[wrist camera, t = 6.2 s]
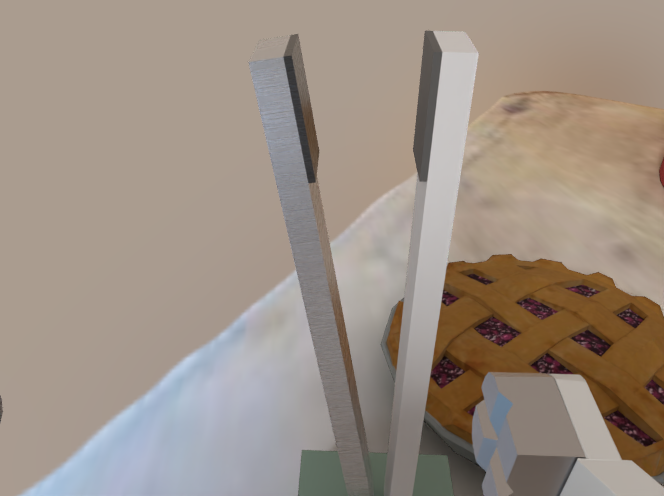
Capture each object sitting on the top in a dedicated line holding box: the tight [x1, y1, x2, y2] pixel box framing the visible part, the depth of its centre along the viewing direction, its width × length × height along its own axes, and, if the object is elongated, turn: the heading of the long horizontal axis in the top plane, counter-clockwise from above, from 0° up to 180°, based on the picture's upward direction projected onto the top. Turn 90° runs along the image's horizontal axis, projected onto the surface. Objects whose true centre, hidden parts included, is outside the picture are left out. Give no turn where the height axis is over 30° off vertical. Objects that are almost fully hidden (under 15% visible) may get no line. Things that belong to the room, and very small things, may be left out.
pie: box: [381, 254, 664, 484], centre depth 42 cm, size 22×22×5 cm
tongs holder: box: [298, 31, 479, 496], centre depth 25 cm, size 8×7×27 cm
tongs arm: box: [249, 34, 374, 496], centre depth 24 cm, size 1×2×22 cm, turn 179°
